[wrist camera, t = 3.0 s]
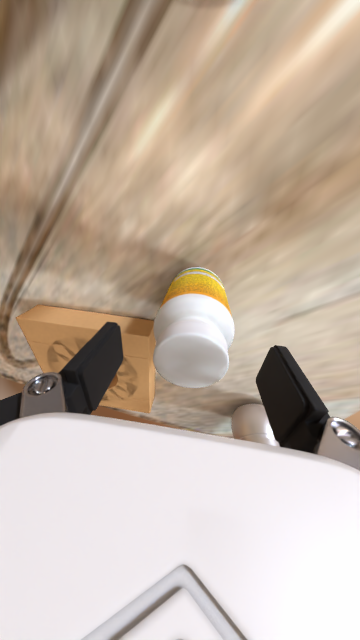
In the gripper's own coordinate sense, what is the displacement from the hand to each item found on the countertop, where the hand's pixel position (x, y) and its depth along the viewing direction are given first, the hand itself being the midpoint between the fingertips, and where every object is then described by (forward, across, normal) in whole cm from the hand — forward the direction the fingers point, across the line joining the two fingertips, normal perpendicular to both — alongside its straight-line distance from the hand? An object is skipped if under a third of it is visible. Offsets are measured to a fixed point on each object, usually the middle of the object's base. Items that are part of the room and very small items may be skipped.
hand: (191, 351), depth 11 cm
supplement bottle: (+8, 0, -1) cm, 8 cm away
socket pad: (+8, +11, +10) cm, 17 cm away
